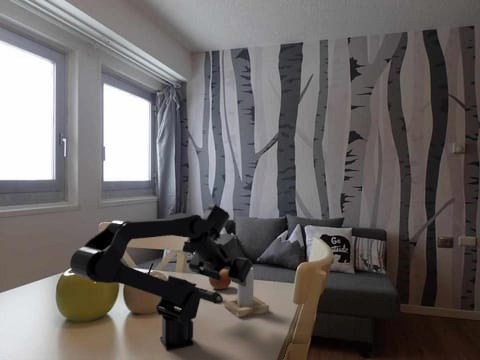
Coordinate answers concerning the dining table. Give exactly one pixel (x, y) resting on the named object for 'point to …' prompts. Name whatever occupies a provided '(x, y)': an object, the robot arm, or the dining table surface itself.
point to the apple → (223, 282)
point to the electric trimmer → (211, 295)
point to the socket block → (256, 309)
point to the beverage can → (246, 291)
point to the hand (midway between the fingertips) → (232, 282)
